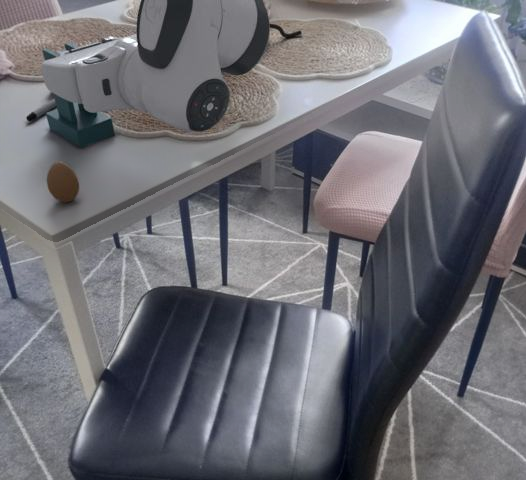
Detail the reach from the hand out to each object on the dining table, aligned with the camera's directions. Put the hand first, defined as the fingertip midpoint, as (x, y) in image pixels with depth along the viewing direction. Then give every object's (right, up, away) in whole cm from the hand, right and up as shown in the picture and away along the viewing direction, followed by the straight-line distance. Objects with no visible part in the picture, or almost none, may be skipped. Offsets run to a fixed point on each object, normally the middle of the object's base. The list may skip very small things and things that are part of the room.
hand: (83, 48), depth 91 cm
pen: (-17, -4, +19) cm, 26 cm away
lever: (-2, -1, +3) cm, 4 cm away
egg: (-2, -24, -2) cm, 24 cm away
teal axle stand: (-4, -8, +14) cm, 17 cm away
